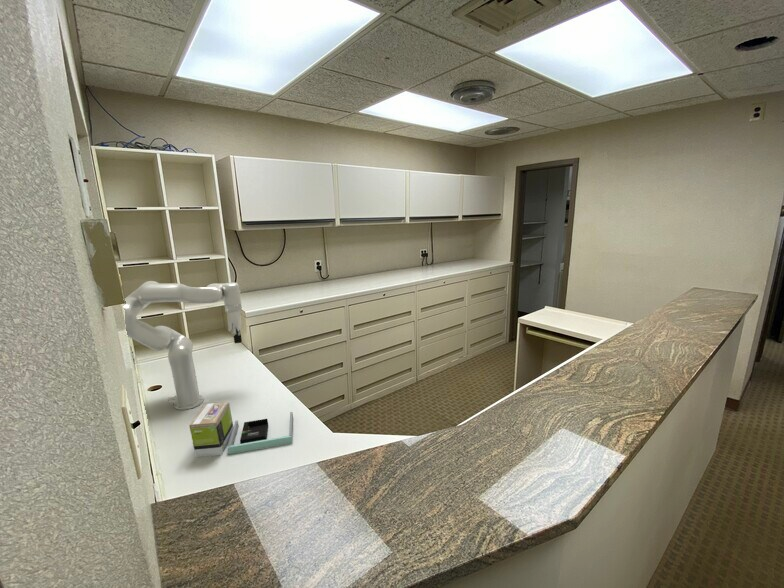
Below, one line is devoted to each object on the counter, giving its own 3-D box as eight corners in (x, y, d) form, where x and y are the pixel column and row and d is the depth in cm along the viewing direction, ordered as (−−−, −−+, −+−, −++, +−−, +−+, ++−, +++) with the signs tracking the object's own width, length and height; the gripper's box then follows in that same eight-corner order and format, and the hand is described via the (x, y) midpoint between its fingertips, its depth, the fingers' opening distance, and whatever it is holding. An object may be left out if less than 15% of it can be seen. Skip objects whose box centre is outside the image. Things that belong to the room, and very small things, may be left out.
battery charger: (266, 444, 143) (265, 435, 142) (240, 449, 140) (239, 440, 139) (268, 426, 155) (267, 418, 154) (245, 430, 153) (244, 422, 152)
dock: (228, 454, 137) (227, 447, 136) (236, 426, 154) (235, 420, 154) (292, 443, 143) (291, 436, 142) (293, 417, 160) (292, 411, 159)
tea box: (210, 434, 150) (205, 402, 147) (235, 432, 151) (230, 400, 147) (194, 458, 136) (188, 424, 132) (221, 455, 136) (216, 421, 133)
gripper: (228, 304, 181) (232, 338, 185) (222, 312, 167) (227, 348, 171) (243, 303, 183) (248, 336, 187) (239, 310, 168) (243, 347, 173)
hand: (238, 342), depth 179 cm, fingers closed
